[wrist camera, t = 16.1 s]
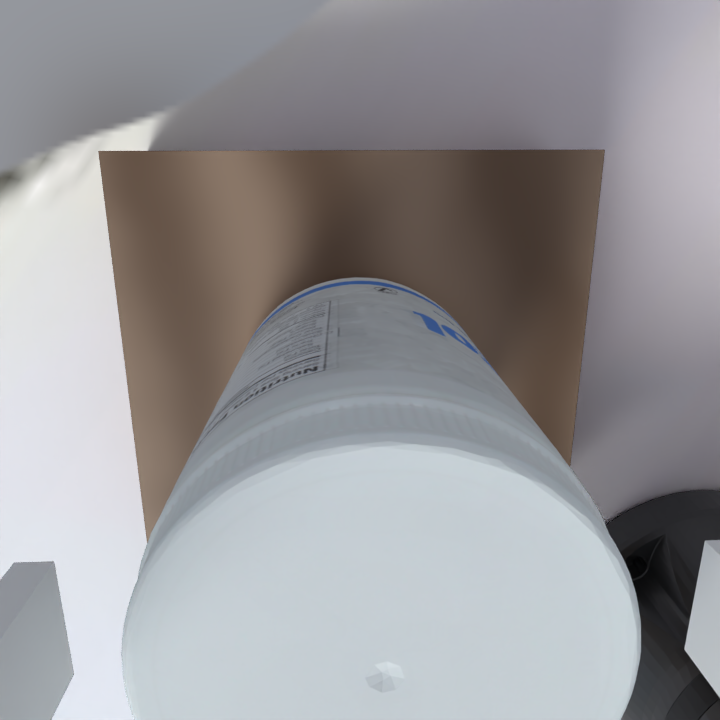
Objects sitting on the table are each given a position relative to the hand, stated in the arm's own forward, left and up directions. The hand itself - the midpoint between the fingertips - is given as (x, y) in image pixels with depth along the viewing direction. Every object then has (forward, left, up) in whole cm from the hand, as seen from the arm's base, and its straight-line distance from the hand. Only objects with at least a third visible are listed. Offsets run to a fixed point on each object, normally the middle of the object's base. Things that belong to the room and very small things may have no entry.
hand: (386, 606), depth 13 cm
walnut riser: (0, 0, -19) cm, 19 cm away
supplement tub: (0, 0, -13) cm, 13 cm away
